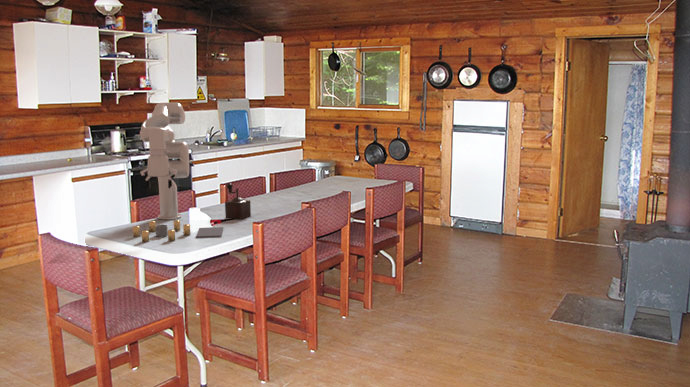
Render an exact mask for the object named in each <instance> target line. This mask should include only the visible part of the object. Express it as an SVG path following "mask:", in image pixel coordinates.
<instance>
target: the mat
mask: <svg viewBox="0 0 690 387" xmlns="http://www.w3.org/2000/svg"><path fill="white" fill-rule="evenodd" d="M223 232H224V226H214V227H210V226H209V227H199V228H198V231H197V233H196V235H195V238H196V239H202V238H204V239H206V238H222V236H223Z"/></svg>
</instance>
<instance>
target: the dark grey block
mask: <svg viewBox="0 0 690 387" xmlns="http://www.w3.org/2000/svg"><path fill="white" fill-rule="evenodd" d="M155 237H156V238H164V237H168V225H167V224H158V225H157V224H156V231H155Z"/></svg>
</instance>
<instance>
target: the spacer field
mask: <svg viewBox="0 0 690 387" xmlns="http://www.w3.org/2000/svg"><path fill="white" fill-rule="evenodd" d="M172 223H173V229H167V232H168V235H167V241H168V242H176V232H180V231H181V220H180V219H173V222H172ZM156 226H157V224H156V220H149V221H148V227H149V230H141V229H140V228H141V227H140V225H133V226H132V236H133V238H139V237H141V242H142V243H148V242H150V236H149V235H150V232H151V233H156ZM182 227H183V229H182V230H183V236H191V224H190V223H187V224H186V223H185V224H183V225H182ZM140 231H141V232H140ZM140 233H141V234H140Z"/></svg>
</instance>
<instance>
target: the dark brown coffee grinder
mask: <svg viewBox="0 0 690 387" xmlns="http://www.w3.org/2000/svg"><path fill="white" fill-rule="evenodd" d="M225 187H226V189H227V190H228V192H227V193H228V194H229V195H231V194H236V197H233V198H232V199H230V200H227V201H224V211H225V213H224V214H225V219H227V218H233V219H232V220H238V221H241V220H245V219H247V218H251V217H252V212H251V211H252V210H251V206H252V205H251V200H250V199H245V198H243V196H239V188H238V187H236V188H235V191H234V190H233V188H234V184H233V183H227V184H226V186H225Z"/></svg>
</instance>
